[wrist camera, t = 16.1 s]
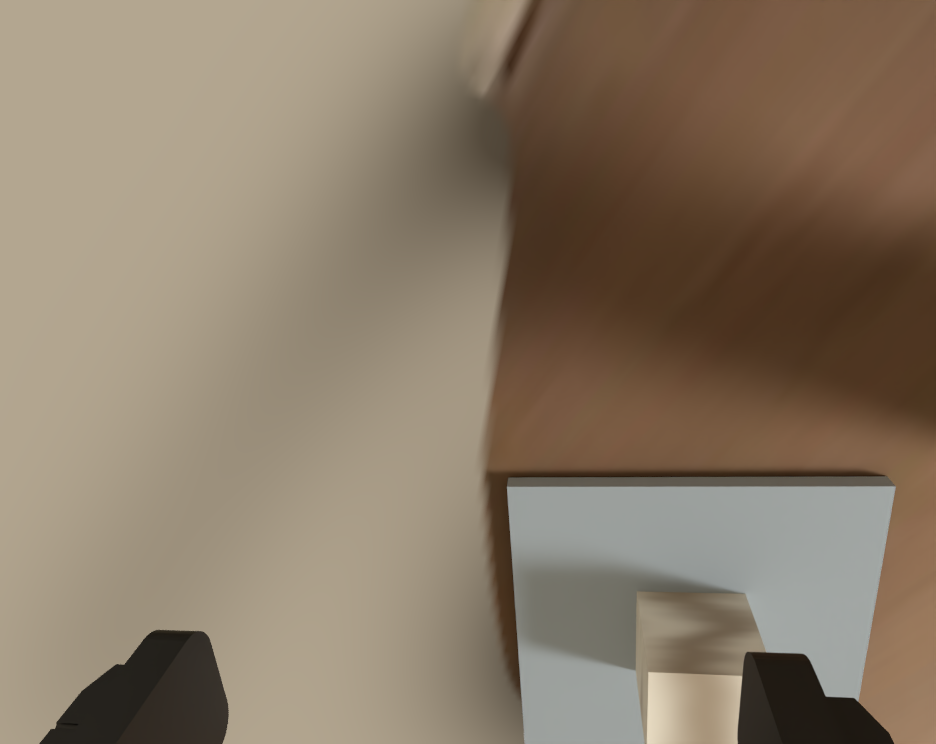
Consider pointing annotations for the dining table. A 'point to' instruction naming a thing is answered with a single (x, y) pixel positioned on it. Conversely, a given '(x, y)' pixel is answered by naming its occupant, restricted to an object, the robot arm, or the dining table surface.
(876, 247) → the dining table surface
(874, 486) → the slate board
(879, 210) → the dining table surface
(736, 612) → the maple block
